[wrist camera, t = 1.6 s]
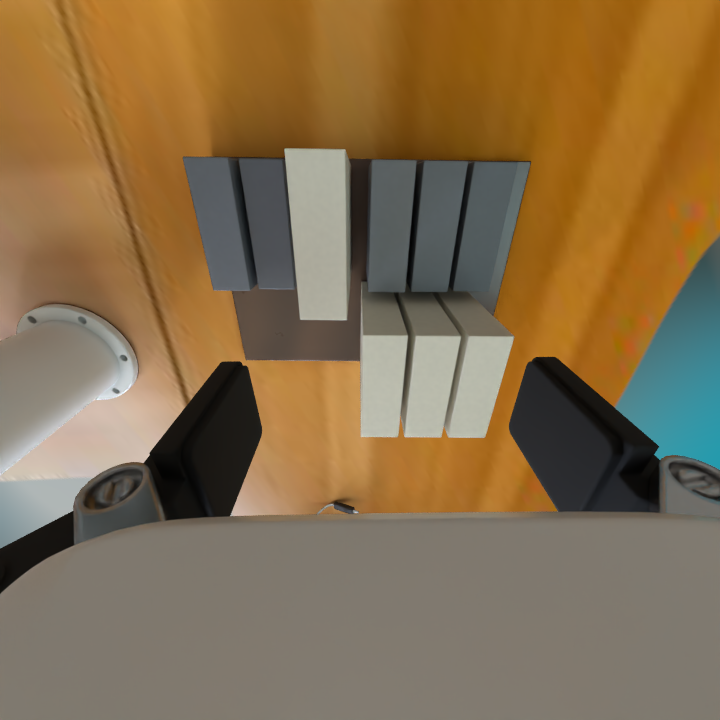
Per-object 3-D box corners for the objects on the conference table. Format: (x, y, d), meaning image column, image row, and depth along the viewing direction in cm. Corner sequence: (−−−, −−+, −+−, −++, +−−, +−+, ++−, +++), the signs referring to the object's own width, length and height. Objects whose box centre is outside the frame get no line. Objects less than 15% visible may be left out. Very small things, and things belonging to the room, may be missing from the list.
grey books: (242, 270, 30) (213, 290, 24) (223, 163, 26) (181, 156, 20) (465, 272, 31) (491, 293, 25) (484, 167, 26) (522, 161, 20)
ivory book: (321, 271, 31) (299, 320, 19) (316, 165, 26) (284, 147, 15) (351, 271, 31) (347, 320, 19) (351, 165, 26) (345, 148, 15)
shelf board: (249, 354, 37) (245, 360, 36) (211, 157, 27) (204, 156, 26) (478, 356, 37) (482, 362, 36) (523, 162, 27) (531, 161, 26)
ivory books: (360, 357, 36) (360, 437, 24) (361, 281, 31) (362, 334, 20) (445, 358, 36) (485, 437, 24) (458, 282, 31) (514, 336, 20)
